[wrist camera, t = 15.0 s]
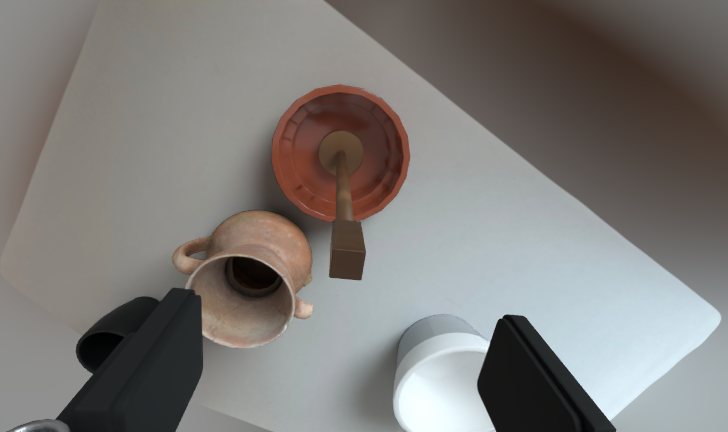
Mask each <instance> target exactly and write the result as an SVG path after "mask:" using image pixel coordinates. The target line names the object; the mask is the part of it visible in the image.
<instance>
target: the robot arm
mask: <svg viewBox="0 0 728 432" xmlns="http://www.w3.org/2000/svg"><path fill="white" fill-rule="evenodd" d="M202 369H203V344H202V301H201V296H200V295H196V294H195V290H193V289H182V288H172V289H171V290H170V291H169V292H168V294H167V295H166V296H165V297H164V299H163V300H162V301H161V302H160V304H159V305H158V306H157V307H156V308H155V310H154V311H153V312H152V313H151V315H150V316H149V317H148V318H147V320H146V321H145V322H144V323H143V325H142V326H141V327H140V328H139V329H138V331H137V332H136V333H133V332H132V333H129V334H128V335H126V336H125V337H124V338H123V339H122V341H121V342H120V343H119V344H118V345H117V347H116V348H115V349H114V350H113V351H112V353H111V354H110V355H109V356H108V357H107V359H106V360H105V361H104V362H103V363H102V365H101V366H100V367H99V368H98V369H97V370H96V372H95V373H94V374H93V375H92V376H91V378H90V379H89V380H88V381H87V382H86V384H85V385H84V386H83V387H82V389H81V390H80V391H79V392H78V393H77V394H76V395H75V397H74V398H73V399H72V400H71V401H70V403H69V404H68V405H67V406H66V407H65V409H64V410H63V411H62V412H61V413H60V415H59V416H58V417H57V418H56V419H55V420H52V419H44V420H37V421H32V422H29V423H26V424H23V425H20V426H17V427H15V428H13V429H11V430H9V431H7V432H175V431H176V429H177V427H178V425H179V422H180V421H181V418H182V416H183V414H184V412H185V410H186V407H187V405H188V403H189V401H190V399H191V397H192V395H193V393H194V390H195V388H196V386H197V384H198V382H199V380H200V377H201V374H202ZM477 390H478V393H479V395H480V397H481V400H482V402H483V404H484V406H485V408H486V410H487V413H488V415H489V417H490V419H491V421H492V424H493V426H494V428H495V430H496V432H616V429H615V427H614V426H613V425H612V424H611V422H610V421H609V420H608V419H607V417H606V416H605V415H604V414H603V412H602V411H601V410H600V409H599V407H598V406H597V405H596V404H595V403H594V401H593V400H592V399H591V398H590V396H589V395H588V394H587V393H586V391H585V390H584V389H583V388H582V386H581V385H580V384H579V383H578V382H577V380H576V379H575V378H574V377H573V375H572V374H571V373H570V372H569V370H568V369H567V368H566V367H565V365H564V364H563V363H562V362H561V361H560V359H559V358H558V357H557V356H556V354H555V353H554V352H553V351H552V349H551V348H550V347H549V346H548V344H547V343H546V342H545V341H544V339H543V338H542V337H541V336H540V335H539V333H538V332H537V331H536V330H535V328H534V327H533V326H532V325H531V323H530V322H529V321H528V320H527V318H525V317H524V316H519V315H504V316H503V318H502V319H499V320H498V322H497V324H496V327H495V330H494V333H493V336H492V339H491V342H490V345H489V348H488V351H487V354H486V356H485V359H484V362H483V365H482V368H481V371H480V374H479V377H478V380H477Z"/></svg>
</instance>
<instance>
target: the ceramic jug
mask: <svg viewBox="0 0 728 432" xmlns="http://www.w3.org/2000/svg"><path fill="white" fill-rule="evenodd" d="M205 250H207V260H197V259H193V258H190V257H188V256H190V255H192V254H195V253H198V252H201V251H205ZM172 260H173V264H174V266H175V268H176V269H177V270H178V271H180V272H182V273H184V274H188V275H191V276H190V277H189V279H188V281H187V283H186V285H185V288H184V289H193V290H195V294H196V295H200V296H201V301H202V335H204V336H205V337H206V338H208V339H209V340H211V341H214V342H215V343H217V344H220V345H223V346H227V347H231V348H242V349H247V348H255V347H260V346H263V345H266V344H268V343H270V342H272V341H274V340H275V339H277V338H278V337H279V336H281V335H282V334H283V333H284V331H285V330H286V329H287V327H288V325H289V323H290V322H291V321H292V318H293V316H294V317H296V318H299V319H307V318H309V317H310V315H311V313H312V310H313V305H312V304H308V303H305V302H303V301H302V300H300V299H299V298H298V297H297V296H296V293H297V292H298V291H299V290H300V289H301V288H302V287H303V286H306V285H307V284H308V283H310V282H311V281H312V275H311V267H312V252H311V248H310V245H309V242H308V240H307V238H306V236H305V235H304V233H303V232H302V231H301V230H300V228H299V227H298V226H297V225H296V224H294V223H293V222H292V221H291V220H289V219H288V218H286V217H284V216H282V215H280V214H277V213H274V212H270V211H263V210H251V211H245V212H241V213H238V214H235V215H233V216H231V217H229V218H228V219H226V220H225V221H224V222H222V223H221V224H220V225H219V226H218V227H217V228H216V230H215V231H214V232H213V234H212V235H211V236H210V237H208V238H199V239H196V240H193V241H190V242H187V243H185V244H183V245H182V246H180V247H179V248H177V249H176V251H175V252H174V253H173V256H172Z"/></svg>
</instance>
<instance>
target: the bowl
mask: <svg viewBox="0 0 728 432" xmlns="http://www.w3.org/2000/svg"><path fill="white" fill-rule="evenodd" d="M489 345H490V342H489V341H488V340H486V339H485V338H484V337H483V336H482V335H481V334H480V333H479V332H478V331H476V330H475V329H474V328H473V327H472V326H471V325H470V324H468V323H467V322H466V321H465V320H463V319H461V318H459V317H456V316H452V315H444V314H442V315H433V316H429V317H426V318H424V319H421V320H419V321H418V322H416V323H415V324H413V325H412V326H411V327H410V328H409V329H408V330H407V331H406V332H405V333H404V335H403V336H402V338H401V340H400V343H399V348H398V356H397V365H396V374H395V381H394V391H393V411H394V415H395V418H396V419H397V421H398V423H399V424H400V426H401V427H402V428H403V429H404V430H405V431H406V432H492V431H494V430H495V428H494V426H493V424H492V421H491V419H490V417H489V415H488V413H487V410H486V408H485V406H484V404H483V402H482V400H481V397H480V395H479V393H478V390H477V380H478V377H479V374H480V371H481V368H482V365H483V362H484V359H485V356H486V354H487V351H488V348H489Z"/></svg>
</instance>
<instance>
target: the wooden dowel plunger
mask: <svg viewBox="0 0 728 432" xmlns="http://www.w3.org/2000/svg"><path fill="white" fill-rule="evenodd" d="M318 157H319V161H320V163H321V165H322V166H323V168H324V169H325V170H326V171H327V172H329V173H330V174H333V175H336V219H334V220H333V228H332V236H331V247H330V269H329V277H330V278H340V279H351V280H361V279H362V273H363V267H364V261H365V255H366V250H365V244H364V238H363V233H362V227H361V222H357V221H354V214H353V207H352V199H351V191H350V183H349V175H350V174H352V173H354V172H355V171H356V170H357V169H358V168H359V167H360V166H361V164H362V161H363V158H364V150H363V146H362V144H361V141H360V140H359V138H358V137H357V136H356V135H355V134H353V133H352V132H350V131H347V130H341V129H340V130H334V131H332V132H330V133H328V134H327V135H326V136H325V137H324V138H323V139H322V141H321V143H320V146H319V150H318Z"/></svg>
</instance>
